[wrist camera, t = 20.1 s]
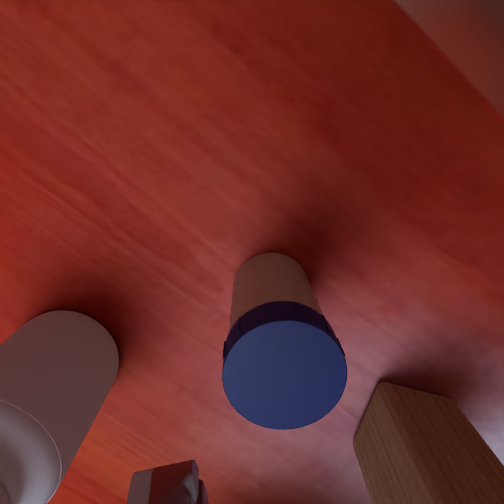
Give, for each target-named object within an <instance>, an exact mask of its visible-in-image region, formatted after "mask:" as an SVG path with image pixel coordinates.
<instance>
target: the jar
mask: <svg viewBox="0 0 504 504" xmlns="http://www.w3.org/2000/svg"><path fill="white" fill-rule="evenodd" d="M273 301H292V302H298V303H301V304H304V305H306V306H308V307H311V308H312V309H314V310H316V311H317V312H318V313H320V314H321V315H323V313H322V311H321V309H320V306H319V304H318V301H317V299H316V297H315V294H314V292H313V289H312V287H311V285H310V282H309V280H308V278H307V275H306V273H305V271H304V269H303V268H302V267H301V265H300V264H299V263H298V262H296V261H295V260H294V259H292V258H291V257H289V256H286V255H283V254H280V253H264V254H260V255H257V256H254V257H253V258H251V259H249V260H248V261H246V262H245V263H244V264H243V265H242V266H241V267H240V269H239V270H238V272H237V274H236V276H235V279H234V283H233V292H232V305H231V317H230V329H229V332H230V330H231V328H232V327H233V325H234V324H235V323H236V321H237V320H238V318H239V317H241V316H242V315H244V314H245V313H246V312H248V311H249V310H251V309H252V308H254V307H256V306H258V305H261V304H264V303H265V302H266V303H268V302H273Z"/></svg>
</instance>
